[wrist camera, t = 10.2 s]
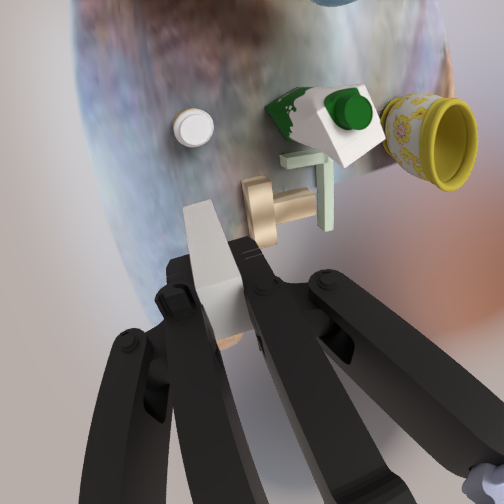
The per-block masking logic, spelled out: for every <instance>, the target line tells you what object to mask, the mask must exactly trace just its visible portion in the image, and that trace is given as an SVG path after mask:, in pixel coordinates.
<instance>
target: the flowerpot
mask: <svg viewBox="0 0 504 504" xmlns="http://www.w3.org/2000/svg"><path fill="white" fill-rule="evenodd" d="M380 124H381V127H382V129H383V132H384V135H385V137H386V139H385V140H383V141H382V144H383V146H384V148H385V150H386V152H387V153H388V154H389V155H390V156H391V157H392V158H394V159H395V160H396V162H397V163H398V164H399V165H400V166H401V167H402V168H403V169H404V170H406V171H407V172H408V173H410V174H412V175H414V176H416V177H418V178H420V179H423V180H427V181H430V182H431V183H432V184H435V185H436V186H437V187H438V188H439V189H441V190H443V191H446V192H452V191H455V190H457V189H458V188H460V187H461V186H462V185H463V184H464V183H465V181H466V180H467V178H468V177H469V175H470V173H471V171H472V169H473V166H474V163H475V160H476V155H477V149H478V130H477V124H476V120H475V117H474V115H473V112H472V110H471V109H470V107H469V106H468V105H467V104H466V103H465V102H464V101H462V100H460V99H456V98H451V99H449V98H442V97H440V96H437V95H433V94H428V93H413V94H409V95H406V96H404V97H400V98H396V99H394V100H392V101H391V102H390V103H389V104H388V105H387V106H386V108H385V110H384V111H383V114H382V116H381V120H380Z"/></svg>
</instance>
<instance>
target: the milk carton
mask: <svg viewBox="0 0 504 504" xmlns="http://www.w3.org/2000/svg"><path fill="white" fill-rule="evenodd" d="M265 108H266V110H267V111H268V113H269V114H270V116H271V117H272V119H273V121H274V122H275V124H276V125H277V127H278V129H279V130H280V132H281V133H282V135H283V137H284V138H285V140H287V141H293V142H298V143H301V144H304V145H307V146H309V147H312V148H314V149H317V150H319V151H321V152H323V153H324V154H326V155H327V156H328V157H330V158H331V159H333V160H334V161H335V162H337V163H338V164H339V165H341V166H342V167H343V168H346V167H347V166H349V165H350V164H351V163H353V162H354V161H355V160H357V159H358V158H360V157H361V156H362V155H364V154H365V153H367V152H368V151H369V150H371V149H372V148H373V147H375V146H376V145H378V144H379V143H380V142H382V141H383V140H385V139H386V137H385V135H384V132H383V129H382V127H381V124H380V118H379V116H378V114H377V112H376V110H375V107H374V105H373V103H372V100H371V98H370V96H369V94H368V91H367V89H366V87H365V85H364V84H358V85H348V86H339V87H296V88H295V89H293V90H291V91H290V92H288V93H286V94H285V95H283V96H281V97H280V98H278V99H276V100H275V101H273V102H272V103H270V104H268V105H267V106H265Z"/></svg>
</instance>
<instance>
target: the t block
mask: <svg viewBox="0 0 504 504" xmlns="http://www.w3.org/2000/svg"><path fill="white" fill-rule="evenodd" d="M241 182H242V189H243V195H244V202H245V208H246V214H247V221H248V227H249V234H250V238H252V239H253V240H255V241H256V243H257V245H258V246H259V249H262V248H266V247H269V246H273V245H276V244H278V243H277V232H276V225H277V224H281V223H285V222H289V221H293V220H297V219H301V218H305V217H309V216H312V215H316V194H314V193H313V192H311V191H310V190H309V189H307V188H306V187H305V188H300V189H295V190H291V191H286V192H282V193H277V194H273V193H272V183H271V181H270V180H269V179H268V178H266V177H265V176H264V175H261V176H257V177H252V178H247V179H243V180H241Z"/></svg>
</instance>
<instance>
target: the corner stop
mask: <svg viewBox="0 0 504 504" xmlns="http://www.w3.org/2000/svg"><path fill="white" fill-rule="evenodd" d="M280 165H281V166H282V167H284V168H286V169H287V170H288V169H293V168H299V167H304V166H310V165H316V181H317V217H318V218H317V219H318V226H319V227H320V228H321V229H322V230H323V231H324V232H327V231H330V230H333V221H334V220H333V219H334V173H333V159H331V158H330V157H328V156H327V155H326V154H324V153H323V152H321V151H319V150H317V149H312V150H305V151H298V152H292V153H286V154H280Z"/></svg>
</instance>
